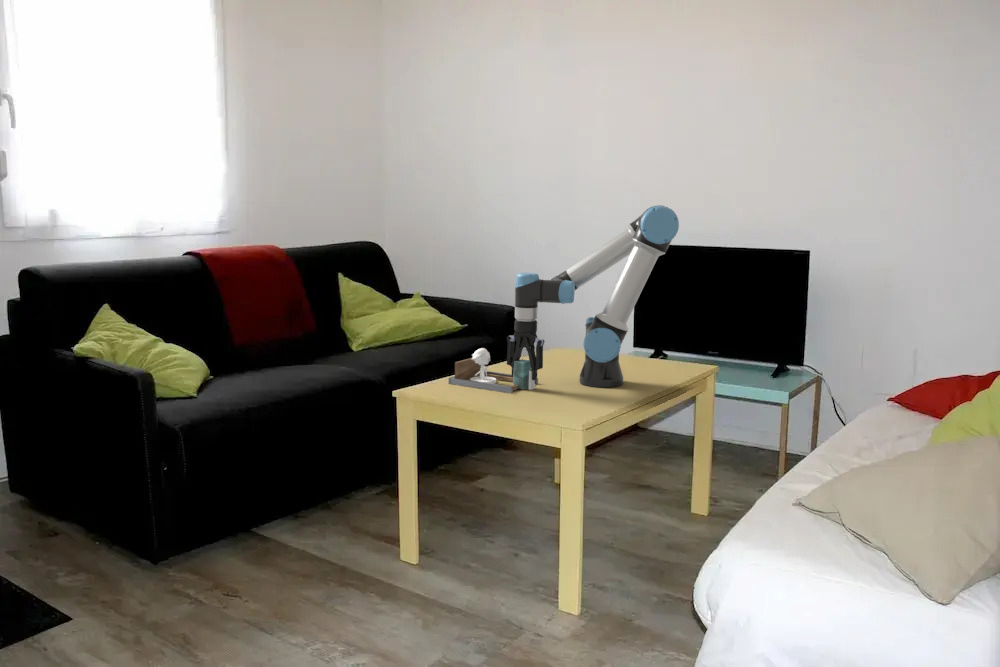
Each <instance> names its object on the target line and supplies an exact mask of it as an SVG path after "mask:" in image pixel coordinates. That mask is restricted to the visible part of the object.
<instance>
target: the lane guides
mask: <svg viewBox="0 0 1000 667" xmlns="http://www.w3.org/2000/svg"><path fill="white" fill-rule="evenodd" d="M484 373H486V372H484ZM487 374H493V375H500V376H507V377H512V373H506V372H505V373H504V372H503V373H502V372H498V371H497V372H496V371H489V370H487ZM448 384H449V385H456V386H460V387H461V386H462V387H468V388H476V389H480V390H487V391H488V390H489V391H494V392H498V393H499V392H501V393H507V394H513V391H512V389H513V387H511V386H512V385H505V386H504V384H503V385H502V384H498V385H497V383H495V384H491V383H484V382H478V381H471V380H470V379H469V380H465V379H458V378H455V375H454V376H450V377H448ZM536 385H539V378H538V377H537V379H536V380H535V386H536Z"/></svg>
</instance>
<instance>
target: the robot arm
mask: <svg viewBox="0 0 1000 667" xmlns="http://www.w3.org/2000/svg"><path fill="white" fill-rule="evenodd" d="M679 228H680V222H679V218H678V215H677V214H676V212H675V211H674V210H673V209H672V208H670V207H668V206H665V205H662V204H661V205H658V204H657V205H654V206H653V205H652V206H650V207H649V208H647V209H646V210H644V212H642V214H641V215H640V216H638V217H637V218H636V219H634V220H633V221H632V222H630V223H629V224H628V227H627V229H626V230H624V231H622V232H620V233H619V234H617V235H616V236H615V237H613V238H612V239H610V240H609V241H607V242H606V243H604V244H602V245H601V246H600V247H599V248H597V249H595V250H593V251H592V252H591V253H590V254H588V255H586V256H585V257H584V258H581V259H580V260H579V261H577V262H576V263H574V264H573V265H571V266H570V267H568V268H567V269H566V270H564V271H563V272H560V274H558V275H556V276H553V277H552V278H551V279H540V277H539V274H538V273H536V272H519V273H517V274H516V276H515V289H514V294H515V295H514V299H515V300H514V318H515V320H514V326H513V327H514V328H513V330H514V333H513V335H512V334H511V335H507V336H506V342H507V348H506V349H507V350H506V365H507V366H510V367H511V374H512V377H513V382H512V386H513V385H514V361H518V360H521V356H522V352H523V350H524V348H526V349H525V350H526V352H527V354H528V355H527V356H528V360H529V361H530V365H531V370H530V371H529V387H528V391H532V390H534V389H536V384H535V380H536V379H537V378H538V370H542V369H543V367H544V366H543V365H544V345H545V340H544V339H540V338H538V335H537V331H538V320H537V319H538V309H539V308H538V306H539V305H538V304H539V303H549V304H550V303H551V304H562V305H564V304H573V303H574V301H575V292H576V290H577V289H580V288H581V287H582V286H584V285H585V284H587V283H589V281H592V280H593V279H594V278H596V277H597V276H599V275H601V274H602V273H604V272H606V271H607V270H608V269H610V268H612V266H614V265H616V264H617V263H620V261H622V260H624V259H625V258H627V257H628V258H627V259H626V261H625V264H624V266H623V268H622V270H621V272H620V274H619V276H618V278H617V280H616V283H615V285H614V287H613V289H612V291H611V294H610V295H609V297H608V299H607V302H606V303H605V305H604V308H603V310H602V311H601V312H599V313H597V314H595V316H589V317H587V318H586V321H585V324H584V326H585V336H584V340H583V348H584V362H583V365H582V369H581V371H580V374H579V380H578V381H579V383H580V384H581V385H583V386H587V387H593V388H594V387H595V388H615V386H616V387H619V386H623V384H624V374H623V371H622V368H621V364H620V360H619V359H620V351H621V348H622V347H621V346H622V344H623V343H624V342H623V341H624V339H625V337H626V335H627V334H628V332H629V328H628V325H627V322H628V320H629V319H630V316H631V314H632V312H633V310H634V308H635V306H636V304H637V302H638V300H639V298H640V295H641V293H642V291H643V289H644V287H645V285H646V283H647V281H648V279H649V277H650V275H651V272H652V271H653V269H654V267H655V264H656V262H658V261H657V260H658V259H659V257H660V256H663V255H665V254H667V251H668V249H669V247H670V245H671V242H672V241H673V239H674V238H675V237H676V236H677V234H678V233H679ZM515 342H516V343H515ZM535 345H536V346H535Z"/></svg>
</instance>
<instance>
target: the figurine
mask: <svg viewBox="0 0 1000 667" xmlns="http://www.w3.org/2000/svg"><path fill="white" fill-rule="evenodd" d="M471 356H472V357H471V358H472V359H471V360H474V361H475V363H478V364H479V365H481V370H480V371H479V372H478V373H476V374H475V376H476V375H478V374H479V373H480V372H481V373H480V377H472V378H470V379H469V380H472V381H478V382H485V383H491V384H497V379H496V378H493V377H487V371H488V367H487V366H488V364H489V362H490V361H491V355H490V352H489V351H488V350H487V348H485V347H481V348H478V349H477V350H475V351H474V353H472V354H471ZM484 372H486V376H485V375H484Z"/></svg>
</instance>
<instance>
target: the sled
mask: <svg viewBox="0 0 1000 667" xmlns="http://www.w3.org/2000/svg"><path fill="white" fill-rule="evenodd" d="M472 358H473V357H470V358H466V359H463V360H459V361H455V362H454V376H455V378H458V379H465V380H470V378H472V377H480V373H481V372H480V373H479V374H478V375H476V376H475V374H476V373H478V372H479V371H480V370H481V365H479V364H478V363H475V361H474V360H471V359H472ZM530 370H531V365H530V361H529V359H522V358H520V360H518V361H514V385H513V384H512V385H510V386H511V387H513V389H512V392H513V391H516V390H519V389H520V390H524V389H529V371H530ZM484 375H485V376H486V373H484ZM487 377H493V378H496V380H499V381H500V380H501V381H507V382H512V383H513V377H507V376H500V375H493V374H487ZM471 381H472V380H471ZM484 383H485V382H484ZM496 384H497V383H496ZM497 385H499V384H497ZM503 385H504V384H503ZM504 386H506V385H504Z"/></svg>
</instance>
